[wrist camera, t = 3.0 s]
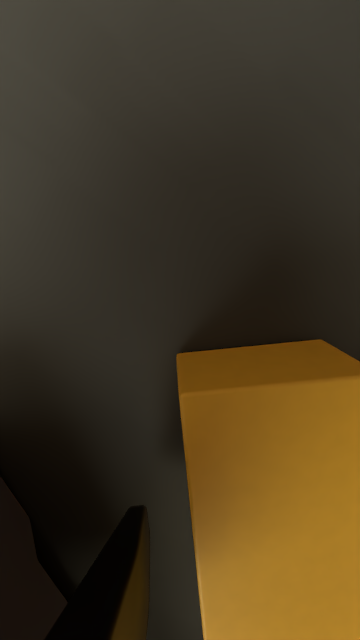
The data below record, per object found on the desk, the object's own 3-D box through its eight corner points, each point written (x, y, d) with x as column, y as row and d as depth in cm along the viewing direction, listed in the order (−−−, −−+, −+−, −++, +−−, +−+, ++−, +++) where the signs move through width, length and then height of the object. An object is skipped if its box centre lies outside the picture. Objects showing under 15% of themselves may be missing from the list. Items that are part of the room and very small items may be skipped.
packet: (319, 570, 10) (367, 671, 8) (199, 583, 10) (208, 689, 8) (321, 338, 8) (384, 373, 6) (175, 352, 8) (178, 394, 6)
